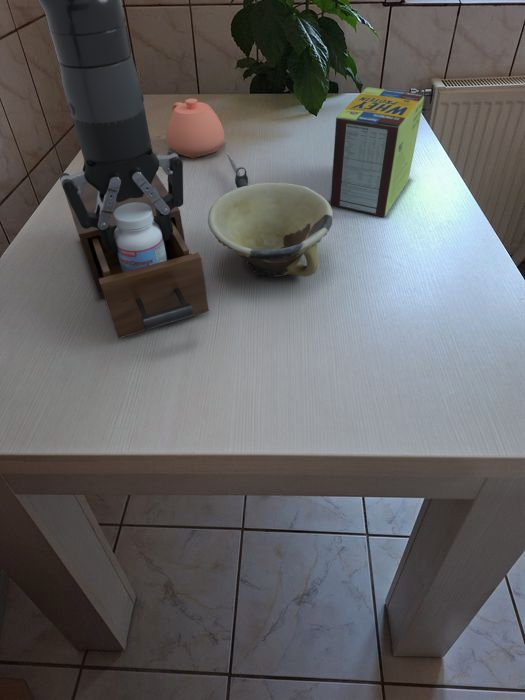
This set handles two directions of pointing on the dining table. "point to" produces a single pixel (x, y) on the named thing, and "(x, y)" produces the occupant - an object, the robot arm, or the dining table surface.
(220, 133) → the sugar bowl
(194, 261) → the drawer
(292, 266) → the bowl
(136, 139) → the robot arm
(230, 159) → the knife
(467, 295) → the dining table surface
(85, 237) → the cabinet
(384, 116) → the protein box
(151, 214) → the pill bottle
